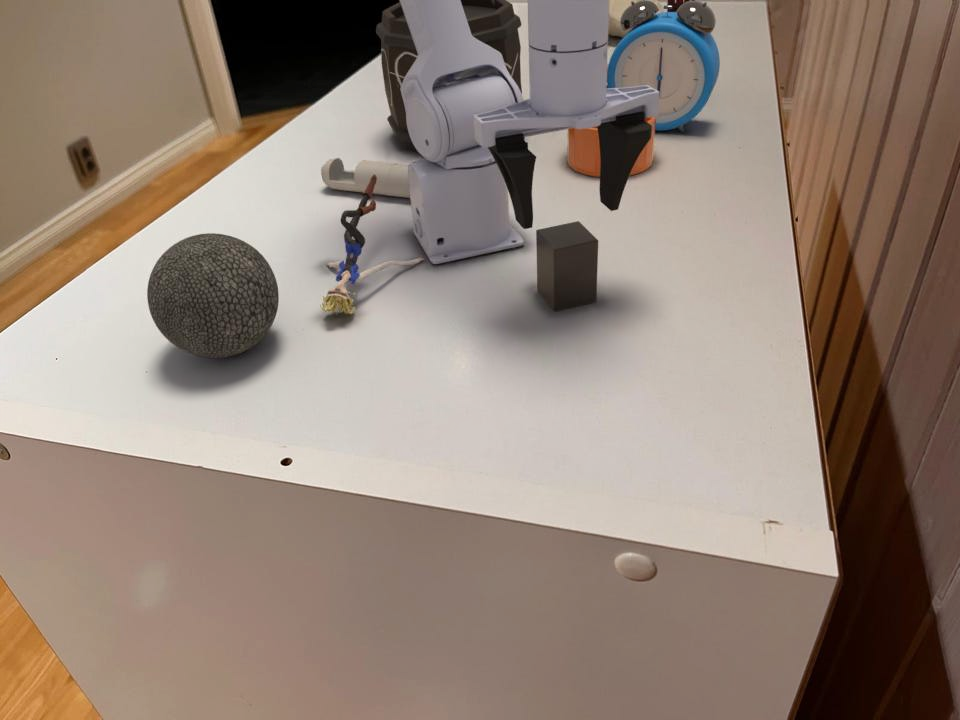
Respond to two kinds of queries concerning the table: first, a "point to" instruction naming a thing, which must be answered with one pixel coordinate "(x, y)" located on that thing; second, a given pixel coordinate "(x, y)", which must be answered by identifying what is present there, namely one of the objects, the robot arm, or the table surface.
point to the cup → (587, 151)
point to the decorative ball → (212, 295)
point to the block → (567, 265)
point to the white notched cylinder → (367, 177)
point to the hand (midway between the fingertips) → (567, 214)
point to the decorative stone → (616, 8)
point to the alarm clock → (668, 58)
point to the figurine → (354, 256)
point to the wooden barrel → (398, 53)
